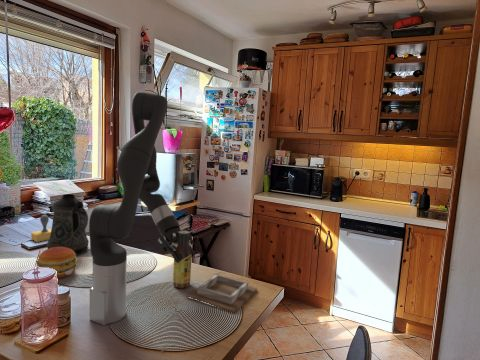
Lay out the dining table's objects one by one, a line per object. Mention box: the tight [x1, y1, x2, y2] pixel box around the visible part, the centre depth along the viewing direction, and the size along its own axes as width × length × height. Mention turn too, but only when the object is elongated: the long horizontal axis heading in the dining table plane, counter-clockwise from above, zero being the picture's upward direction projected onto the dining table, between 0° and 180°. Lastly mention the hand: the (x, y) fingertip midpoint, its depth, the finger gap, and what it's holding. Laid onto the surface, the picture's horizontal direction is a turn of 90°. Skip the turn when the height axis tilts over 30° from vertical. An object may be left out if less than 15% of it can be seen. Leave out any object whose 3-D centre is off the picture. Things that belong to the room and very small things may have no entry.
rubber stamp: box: [30, 214, 52, 243], centre depth 160 cm, size 10×6×12 cm, turn 146°
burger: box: [36, 247, 78, 279], centre depth 124 cm, size 14×14×10 cm
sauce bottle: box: [172, 230, 193, 289], centre depth 120 cm, size 7×6×20 cm
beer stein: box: [46, 193, 90, 255], centre depth 147 cm, size 16×19×25 cm
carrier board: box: [186, 273, 258, 314], centre depth 116 cm, size 18×18×4 cm
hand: (186, 258), depth 119 cm, fingers closed on sauce bottle, 6 cm apart
